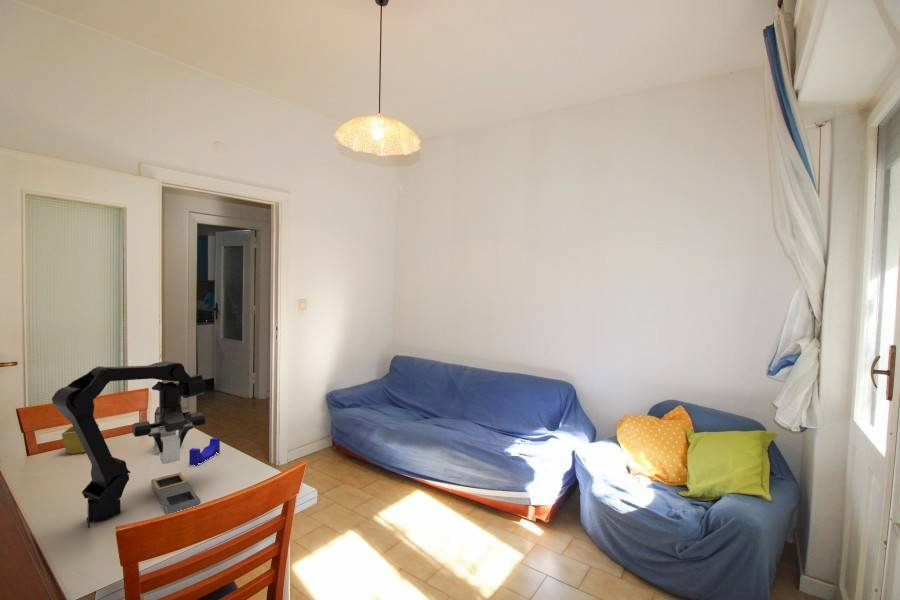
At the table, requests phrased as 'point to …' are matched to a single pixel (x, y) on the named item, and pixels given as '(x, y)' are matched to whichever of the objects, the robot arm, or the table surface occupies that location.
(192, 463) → the blue notched block
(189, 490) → the slotted holder
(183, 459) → the table surface
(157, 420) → the coffee box
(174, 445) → the light grey block
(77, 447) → the flower pot
